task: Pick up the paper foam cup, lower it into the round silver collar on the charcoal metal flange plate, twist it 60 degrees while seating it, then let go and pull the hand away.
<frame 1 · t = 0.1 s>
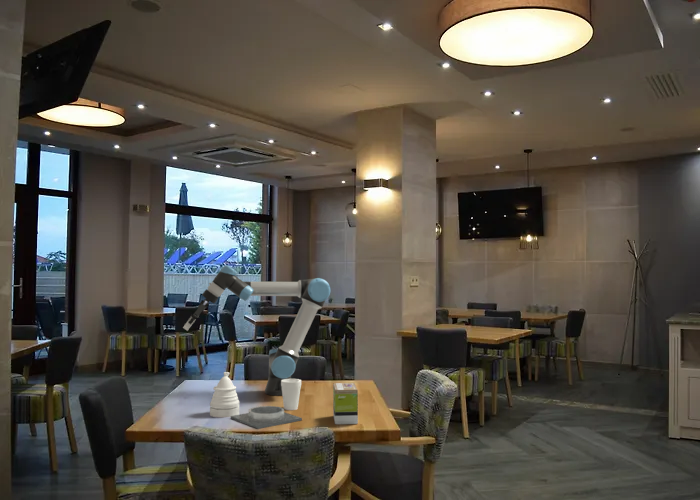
hand: (185, 327, 280), 36 cm above the table, tool tilted 35°, fingers open, 13 cm apart
honey pot: (224, 414, 254), on the table
tea box: (345, 420, 246), on the table
foam cup: (290, 409, 266), on the table
duct flange: (266, 419, 245), on the table
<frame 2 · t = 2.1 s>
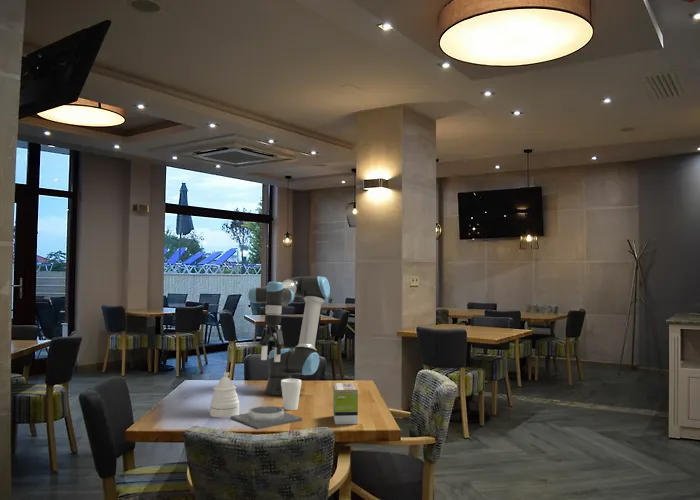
hand: (270, 361, 263), 23 cm above the table, tool pointing down, fingers open, 13 cm apart
nothing on the table moved.
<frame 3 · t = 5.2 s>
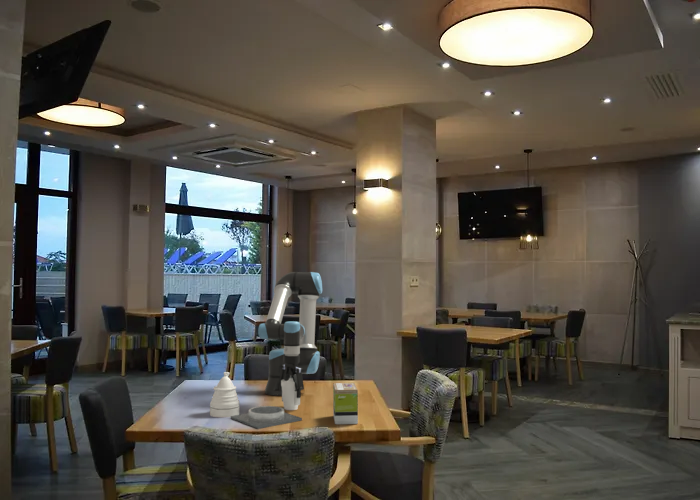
hand: (290, 402, 266), 3 cm above the table, tool pointing down, fingers closed on foam cup, 9 cm apart
foam cup: (290, 408, 266), on the table, touching gripper
everything else where it was.
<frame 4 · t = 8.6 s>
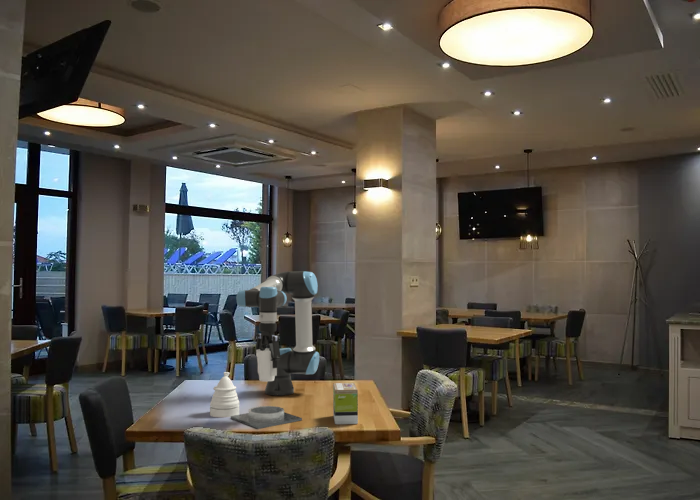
hand: (267, 374, 246), 19 cm above the table, tool pointing down, fingers closed on foam cup, 9 cm apart
foam cup: (266, 380, 246), point 17 cm above the table, touching gripper
everything else where it was.
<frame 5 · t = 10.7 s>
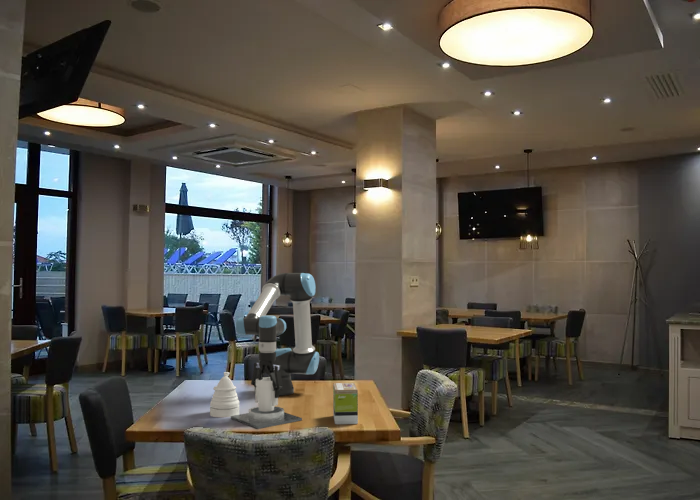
hand: (266, 403, 246), 7 cm above the table, tool pointing down, fingers closed on foam cup, 9 cm apart
foam cup: (266, 410, 245), point 4 cm above the table, touching gripper
everything else where it was.
when the fingers open (5 cm above the table, at t = 12.4 s): foam cup drops 1 cm, resting on duct flange.
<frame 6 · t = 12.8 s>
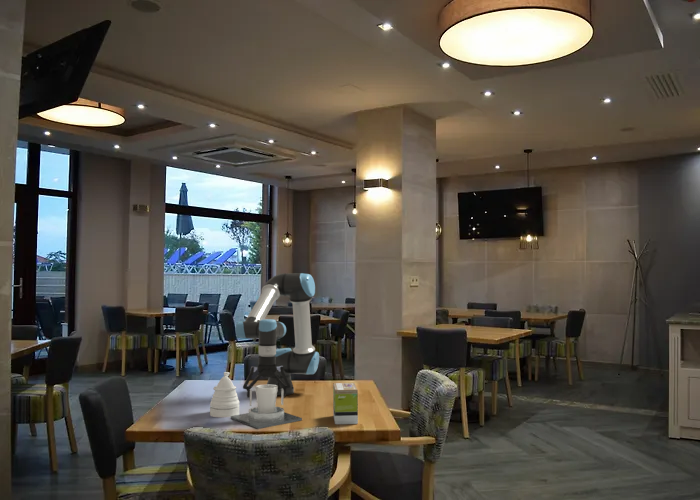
hand: (266, 404, 245), 6 cm above the table, tool pointing down, fingers open, 13 cm apart
foam cup: (266, 417, 245), point 1 cm above the table, touching duct flange
everything else where it was.
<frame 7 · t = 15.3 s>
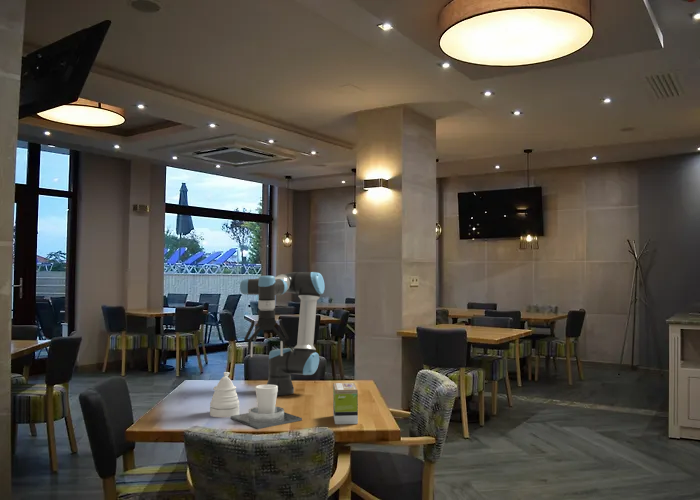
hand: (266, 356, 259), 25 cm above the table, tool pointing down, fingers open, 13 cm apart
nothing on the table moved.
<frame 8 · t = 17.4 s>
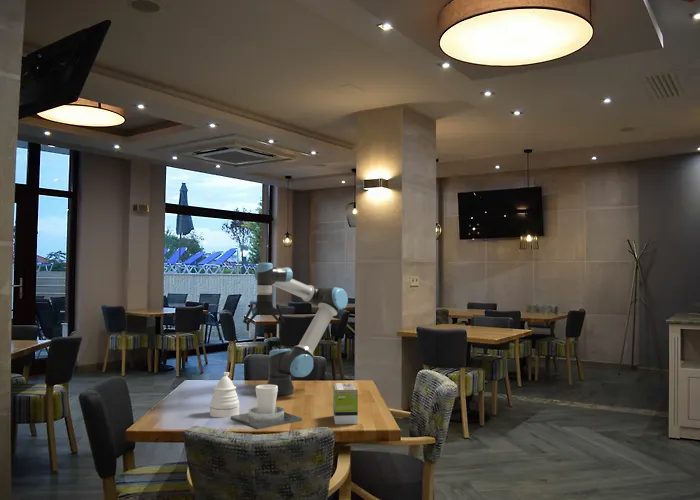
hand: (263, 337, 278), 32 cm above the table, tool pointing down, fingers open, 13 cm apart
nothing on the table moved.
at the end: foam cup 0.1 cm off-centre on the duct flange, point 0.8 cm above the duct flange's base; foam cup tilted 0°; the gripper is holding nothing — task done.
